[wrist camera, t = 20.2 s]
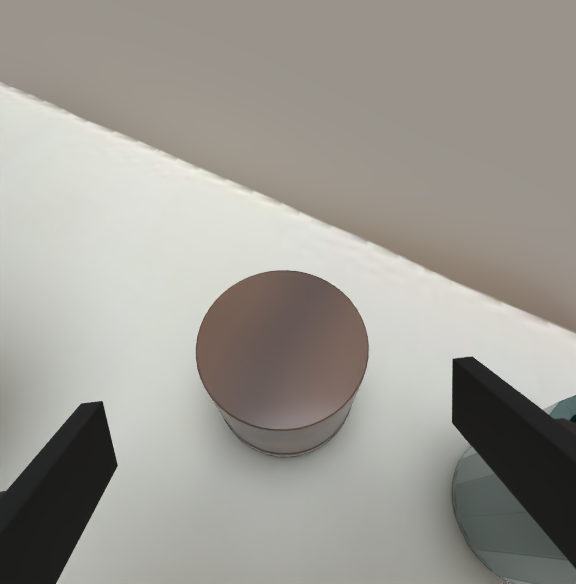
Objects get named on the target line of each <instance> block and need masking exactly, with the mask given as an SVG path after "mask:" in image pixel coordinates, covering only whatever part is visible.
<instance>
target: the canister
mask: <svg viewBox="0 0 576 584" xmlns="http://www.w3.org/2000/svg"><path fill="white" fill-rule="evenodd" d="M543 411H545V412H546V413H547V414H549V415H550V416H551V417H553V418H554V419H559V418H565V419H567V420H569V421H571V422H574V423H576V395H575V396H573V397H570V398H567V399H565V400H562V401H560V402H558V403H556V404H553V405H551V406H549V407H547V408H545V409H543ZM452 501H453V507H454V512H455V515H456V519H457V522H458V524H459V527H460V529H461V532H462V534H463V536H464V537H465V539H466V541H467V543H468V544H469V546H470V547H471V549H472V550H473V552H474V553H475V554H476V555H477V556H478V558H479V559H480V560H481V561H482V562H483V563H484V564H485V565H486V566H487V567H488V568H489V569H490V570H491V571H493V572H494V573H495V574H496V575H498V576H499V577H501V578H502V579H504V580H505V581H507V582H509V583H511V584H576V569H575V568H574V567H573V565H572V564H571V563H570V562H569V561H568V559H567V558H566V557H565V556H564V555H563V554H562V552H561V551H560V550H559V549H558V548H557V546H556V545H555V544H554V543H553V542H552V541H551V539H550V538H549V537H548V536H547V535H546V533H545V532H544V531H543V530H542V529H541V527H540V526H539V525H538V524H537V523H536V522H535V520H534V519H533V518H532V517H531V516H530V514H529V513H528V512H527V511H526V510H525V509H524V507H523V506H522V505H521V504H520V503H519V501H518V500H517V499H516V498H515V497H514V496H513V494H512V493H511V492H510V491H509V490H508V488H507V487H506V486H505V485H504V484H503V483H502V481H501V480H500V479H499V478H498V477H497V475H496V474H495V473H494V472H493V471H492V470H491V468H490V467H489V466H488V465H487V464H486V462H485V461H484V460H483V459H482V458H481V456H480V455H479V454H478V453H477V452H476V451H475V449H474V448H473V447H472V446H471V447H470V448H469V449H468V450H467V451H466V452H465V453H464V455H463V456H462V457H461V459H460V461H459V463H458V464H457V467H456V470H455V473H454V477H453V482H452Z"/></svg>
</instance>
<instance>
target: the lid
mask: <svg viewBox="0 0 576 584" xmlns="http://www.w3.org/2000/svg"><path fill="white" fill-rule="evenodd" d="M368 353H369V345H368V336H367V332H366V328H365V325H364V323H363V320H362V318H361V316H360V314H359V312H358V310H357V309H356V307H355V306H354V305H353V303H352V302H351V301H350V299H349V298H348V297H347V296H346V295H345V294H344V293H343V292H341V291H340V290H339V289H338V288H336V287H335V286H334V285H332V284H330V283H329V282H327V281H325V280H323V279H321V278H319V277H316V276H313V275H310V274H307V273H303V272H298V271H288V270H287V271H270V272H265V273H260V274H257V275H254V276H251V277H248V278H246V279H244V280H242V281H240V282H238V283H236V284H235V285H233V286H232V287H230V288H229V289H228V290H226V291H225V292H224V293H223V294H222V295H221V296H220V297H219V298H218V299H217V300H216V301H215V302H214V303H213V305H212V306H211V307H210V309H209V310H208V312H207V314H206V315H205V317H204V319H203V322H202V324H201V326H200V329H199V333H198V336H197V343H196V361H197V368H198V372H199V375H200V378H201V381H202V383H203V385H204V387H205V389H206V391H207V392H208V394H209V395H210V397H211V398H212V400H213V401H214V403H215V404H216V406H217V407H218V409H219V410H220V412H221V413H222V415H223V417H224V419H225V421H226V423H227V424H228V426H229V427H230V429H231V430H232V431H233V432H234V434H235V435H236V436H237V437H238V438H239V439H240V440H241V441H243V442H244V443H245V444H246V445H248V446H250V447H251V448H253V449H255V450H257V451H259V452H262V453H265V454H268V455H273V456H280V457H290V456H297V455H302V454H305V453H309V452H311V451H313V450H315V449H318V448H319V447H321V446H322V445H324V444H325V443H327V442H328V441H329V440H330V439H331V438H333V437H334V435H335V434H336V433H337V432H338V431H339V430H340V428H341V427H342V425H343V424H344V422H345V420H346V418H347V416H348V414H349V411H350V408H351V405H352V403H353V400H354V398H355V396H356V393H357V391H358V389H359V387H360V384H361V382H362V380H363V377H364V374H365V371H366V368H367V362H368Z"/></svg>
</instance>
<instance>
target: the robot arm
mask: <svg viewBox="0 0 576 584" xmlns="http://www.w3.org/2000/svg"><path fill="white" fill-rule="evenodd" d="M452 423H453V425H454V426H455V427H456V428H457V429H458V430H459V432H460V433H461V434H462V435H463V436H464V438H465V439H466V440H467V441H468V442H469V443H470V445H471V446H472V447H473V448H474V449H475V451H476V452H477V453H478V454H479V455H480V456H481V458H482V459H483V460H484V461H485V462H486V464H487V465H488V466H489V467H490V468H491V470H492V471H493V472H494V473H495V474H496V475H497V477H498V478H499V479H500V480H501V481H502V483H503V484H504V485H505V486H506V487H507V488H508V490H509V491H510V492H511V493H512V494H513V496H514V497H515V498H516V499H517V500H518V501H519V503H520V504H521V505H522V506H523V507H524V509H525V510H526V511H527V512H528V513H529V514H530V516H531V517H532V518H533V519H534V520H535V522H536V523H537V524H538V525H539V526H540V527H541V529H542V530H543V531H544V532H545V533H546V535H547V536H548V537H549V538H550V539H551V541H552V542H553V543H554V544H555V545H556V546H557V548H558V549H559V550H560V551H561V552H562V554H563V555H564V556H565V557H566V558H567V559H568V561H569V562H570V563H571V564H572V565H573V567H574V568H575V569H576V423H574V422H571V421H569V420H567V419H565V418H559V419H554V418H553V417H551V416H550V415H549V414H547V413H546V412H545V411H543V410H542V409H541V408H539V407H538V406H537V405H535V404H534V403H533V402H531V401H530V400H529V399H528V398H526V397H525V396H524V395H522V394H521V393H520V392H518V391H517V390H516V389H514V388H513V387H512V386H510V385H509V384H508V383H506V382H505V381H504V380H502V379H501V378H500V377H499V376H497V375H496V374H495V373H493V372H492V371H491V370H489V369H488V368H487V367H485V366H484V365H483V364H481V363H480V362H479V361H477V360H476V359H475V358H474V357H464V358H456V359H453V377H452ZM117 466H118V465H117V461H116V457H115V452H114V448H113V444H112V440H111V435H110V431H109V427H108V423H107V418H106V414H105V410H104V406H103V401H99V402H91V403H82V404H80V406H79V407H78V408H77V409H76V410H75V411H74V413H73V414H72V415H71V416H70V417H69V418H68V420H67V421H66V422H65V423H64V424H63V425H62V427H61V428H60V429H59V430H58V431H57V432H56V434H55V435H54V436H53V437H52V438H51V439H50V441H49V442H48V443H47V444H46V445H45V446H44V448H43V449H42V450H41V451H40V452H39V453H38V455H37V456H36V457H35V458H34V459H33V460H32V462H31V463H30V464H29V465H28V466H27V467H26V469H25V470H24V471H23V472H22V473H21V474H20V476H19V477H18V478H17V479H16V480H15V481H14V483H13V484H12V485H11V486H10V487H9V489H8V490H7V491H3V492H0V584H56V582H57V581H58V579H59V577H60V575H61V573H62V571H63V569H64V567H65V565H66V563H67V561H68V560H69V558H70V556H71V554H72V552H73V550H74V548H75V546H76V544H77V542H78V540H79V539H80V537H81V535H82V533H83V531H84V529H85V527H86V525H87V523H88V521H89V519H90V518H91V516H92V514H93V512H94V510H95V508H96V506H97V504H98V502H99V500H100V498H101V497H102V495H103V493H104V491H105V489H106V487H107V485H108V483H109V481H110V479H111V477H112V476H113V474H114V472H115V470H116V468H117Z"/></svg>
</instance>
